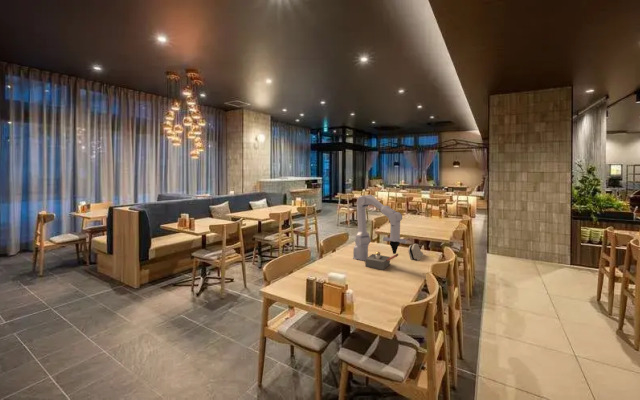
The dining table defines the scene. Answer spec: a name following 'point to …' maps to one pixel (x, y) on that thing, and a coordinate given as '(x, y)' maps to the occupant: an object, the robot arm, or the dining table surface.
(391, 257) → the bar
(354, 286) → the dining table surface
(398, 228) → the robot arm
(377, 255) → the pin
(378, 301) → the dining table surface
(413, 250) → the hinge
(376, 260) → the pin block
